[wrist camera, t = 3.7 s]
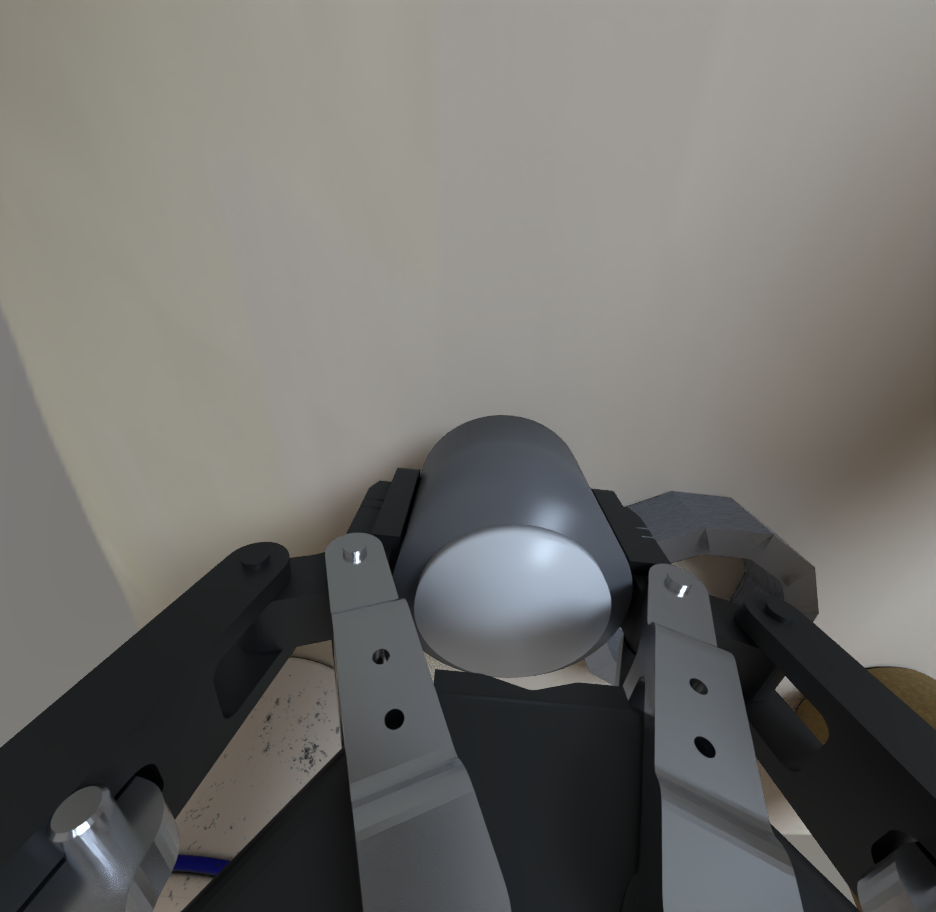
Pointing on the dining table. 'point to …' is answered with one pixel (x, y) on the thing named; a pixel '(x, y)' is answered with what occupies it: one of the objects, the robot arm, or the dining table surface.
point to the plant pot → (909, 685)
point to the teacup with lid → (255, 776)
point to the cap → (509, 553)
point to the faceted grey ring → (720, 534)
